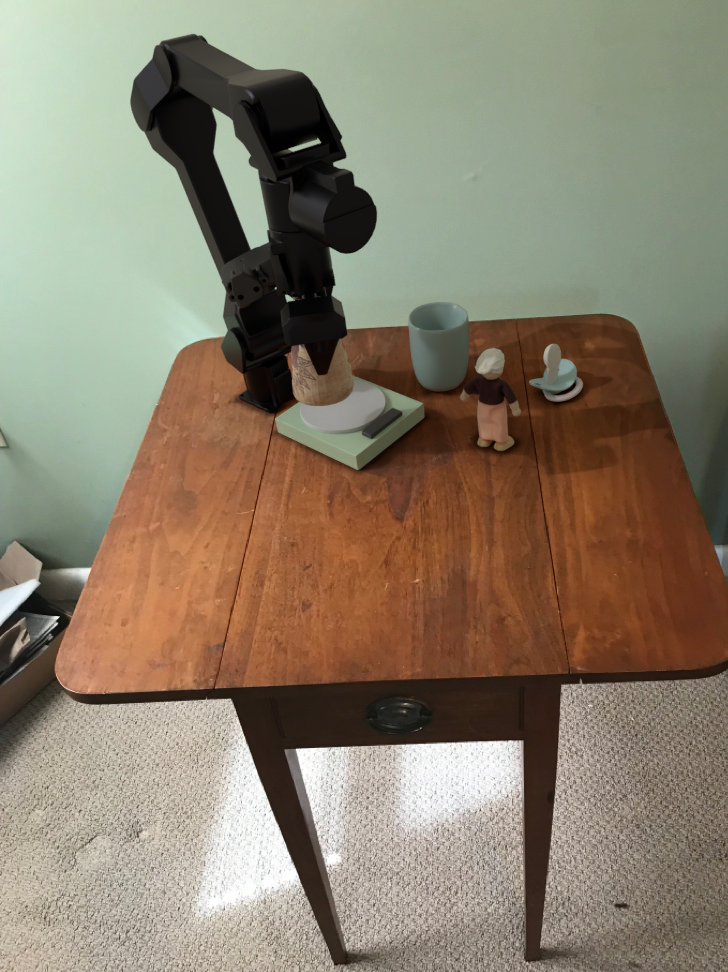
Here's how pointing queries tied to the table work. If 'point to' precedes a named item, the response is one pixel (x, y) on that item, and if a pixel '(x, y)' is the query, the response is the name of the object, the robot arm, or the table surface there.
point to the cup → (439, 345)
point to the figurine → (321, 377)
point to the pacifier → (557, 376)
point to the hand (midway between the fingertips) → (319, 358)
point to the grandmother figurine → (492, 400)
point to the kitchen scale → (353, 423)
